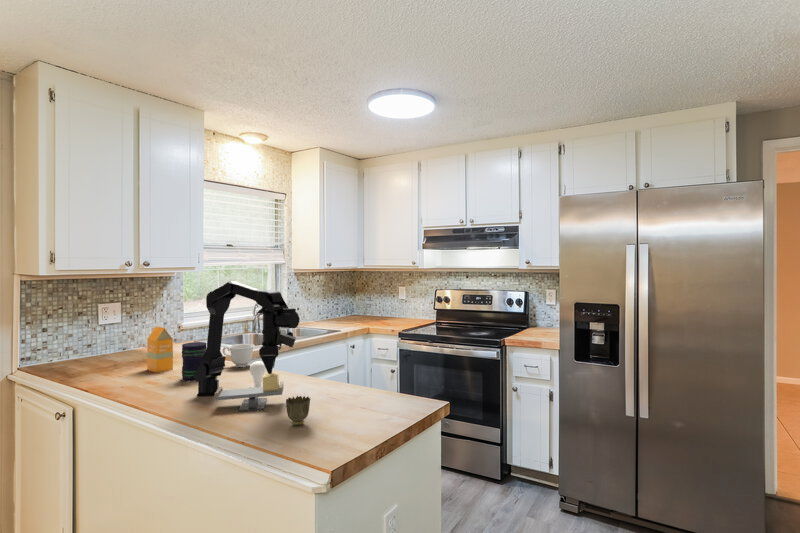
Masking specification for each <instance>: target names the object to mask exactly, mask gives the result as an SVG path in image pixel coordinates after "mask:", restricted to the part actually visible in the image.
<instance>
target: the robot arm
mask: <svg viewBox="0 0 800 533" xmlns="http://www.w3.org/2000/svg"><path fill="white" fill-rule="evenodd" d="M236 296H241V297H243V298H247V299H250V300H252V301H254V302H256V304H257V305H258V306H260V307H261V308H260V309H259V310H258V311H257V314H259V315H262V330H261V333H262V342H261V347H260V348H259V350H258V352H259V353H258V354H259V357H260V359H261V360H262V361H261V362H263V363H264V365H265V367H266V372H267V374H271V373H273V369H274V368H275V363H276V359H277V357H279V355H280V350H281V349H282V346H283V345H285V346H288V347H289V348H293V347H294V345H295V342H296V340H297V337H296V336H294V332H292V331H288V332H287V333H285V332H284V333H283V332H282V328H286V329H296V328H297V327H298V326H299V324H300V315H299V313H298V312H297V311H296V308H295V307H293V308H289V306H288V305H287V303H286V301H285V300H284V298H283V294H282V293H281V291H279V290H266V289H260V288H258V287H257V288H256V287H254V286H250V285H247V284H244V283H241V282H240V281H234V280H233V281H228V282H226V283H225V284H223V285H222V286H220V287H217V288H215V289H214V290H211V291H209V292H208V294H206V297H205V301H206V302H205V303H206V308H207V311H208V313H209V322H208V331H207V341H206V352H205V354H204V355H203V357H202V358H201V362H200V366H199V368H198V369H197V370H196V371H195V373H194V379H196V380H198V381H197V382H198V383H197V386H198V387H197V394H196V396H197V397H203V396H215V392H216V391H217V390H218V388H219V387H220V380H219V379H218V377H220V376H222V373H223V370H224V368H225V367H226V364H225V363H226V357H227V356H226V355H224V354H222V353H223V352H221V351H222V350H221V348H222V339H223V329H224V319H225V318H224V317H225V314H226V312H228V310H229V308H230V306H231V305H230V304H231V300H233V299H234V298H236Z"/></svg>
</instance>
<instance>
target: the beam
mask: <svg viewBox="0 0 800 533" xmlns="http://www.w3.org/2000/svg"><path fill="white" fill-rule="evenodd" d="M283 392H284V381H281V382H280V381H279V389H278V390H277V391H266V392H263V386H261V387H245V388H232V389H223V386H219V388H218V390H217V391H216V392H215V395H214V401H226V400H228V401H229V400H238V399H249V398H251V397H258V398H259V397H261V398H263V397H272V396H273V397H274V396H281V395H282V396H283Z"/></svg>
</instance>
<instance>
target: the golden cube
mask: <svg viewBox="0 0 800 533" xmlns="http://www.w3.org/2000/svg"><path fill="white" fill-rule="evenodd" d="M279 374H280V373H279V372H272V373H271V374H268V373H264V375H263V377H262V387H263V392H266V391H277V390H278V389H279V385H280V376H279Z"/></svg>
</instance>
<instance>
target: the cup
mask: <svg viewBox="0 0 800 533" xmlns="http://www.w3.org/2000/svg"><path fill="white" fill-rule="evenodd" d="M310 403H311V397H309V396H306V395H303V397H302V396H301V395H299V396H298V395H296V397H294V396H292V397H288V398H286V399H285V405H286V406H285V407H286V414H287V417H288V419H289V420H291V424H292V426H294V427H299V426H303V425H304V424H305V421H304V420H306V419H307V418H308V416H309V412H310Z"/></svg>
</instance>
